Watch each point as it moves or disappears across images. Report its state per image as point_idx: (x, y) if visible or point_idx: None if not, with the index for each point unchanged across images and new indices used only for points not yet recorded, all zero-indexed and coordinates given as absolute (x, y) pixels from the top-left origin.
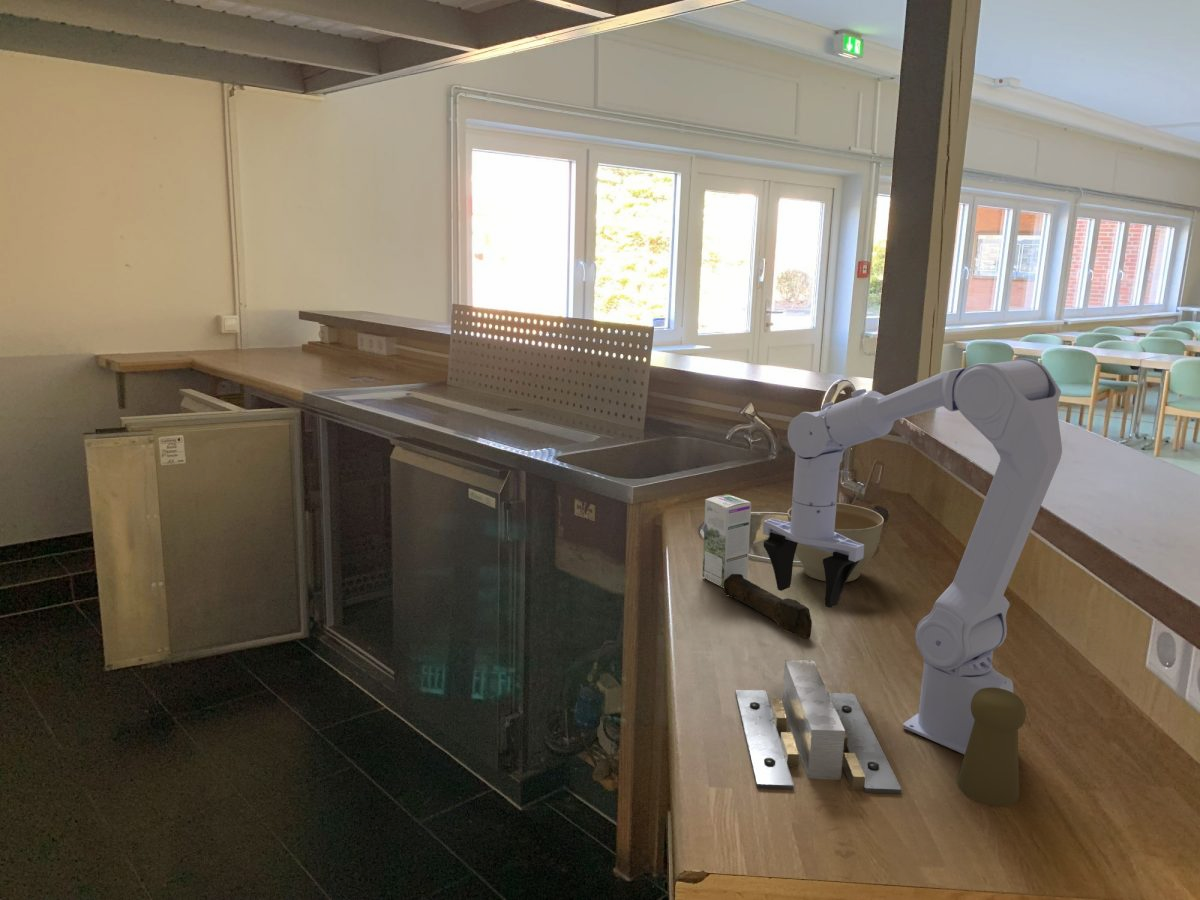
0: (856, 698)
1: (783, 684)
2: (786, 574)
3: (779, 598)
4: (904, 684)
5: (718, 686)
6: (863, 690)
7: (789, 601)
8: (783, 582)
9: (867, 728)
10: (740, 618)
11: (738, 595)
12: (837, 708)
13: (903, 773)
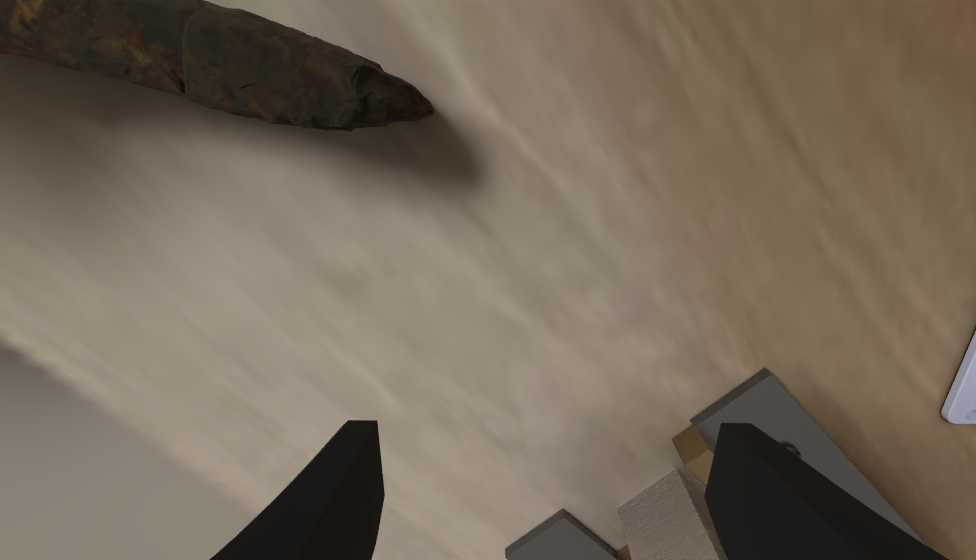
0: (786, 391)
1: (632, 557)
2: (349, 540)
3: (128, 11)
4: (887, 169)
5: (453, 550)
6: (774, 310)
7: (229, 67)
8: (370, 523)
9: (863, 491)
10: (116, 160)
11: None
12: None
13: (969, 550)
